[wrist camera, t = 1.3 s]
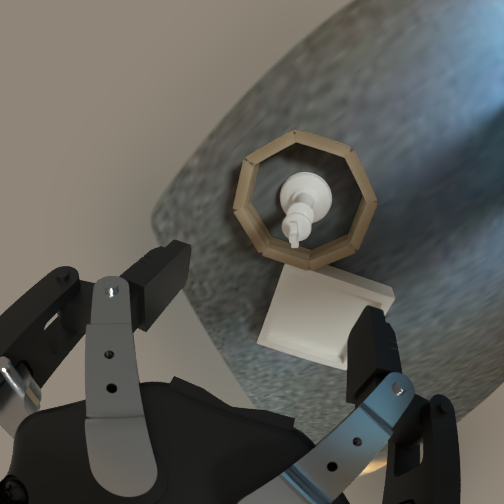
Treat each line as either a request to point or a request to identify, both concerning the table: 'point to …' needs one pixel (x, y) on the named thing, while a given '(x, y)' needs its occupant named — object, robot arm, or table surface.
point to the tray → (319, 312)
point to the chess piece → (303, 204)
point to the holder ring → (283, 249)
